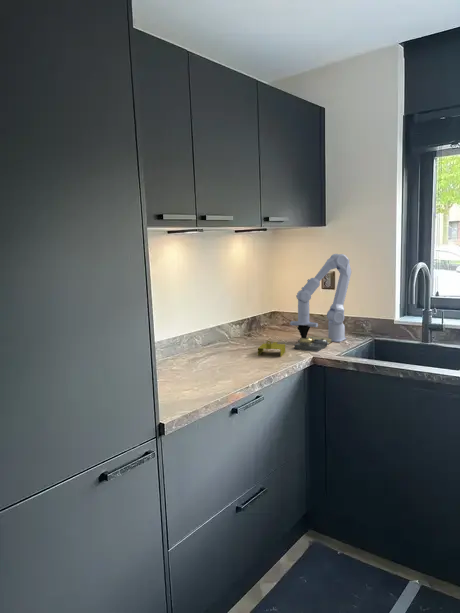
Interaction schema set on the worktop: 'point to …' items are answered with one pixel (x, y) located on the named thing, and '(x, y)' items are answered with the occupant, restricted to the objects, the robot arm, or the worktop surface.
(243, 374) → the worktop surface
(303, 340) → the brass plate
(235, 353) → the worktop surface
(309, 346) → the fixed leaf
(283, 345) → the bracket
